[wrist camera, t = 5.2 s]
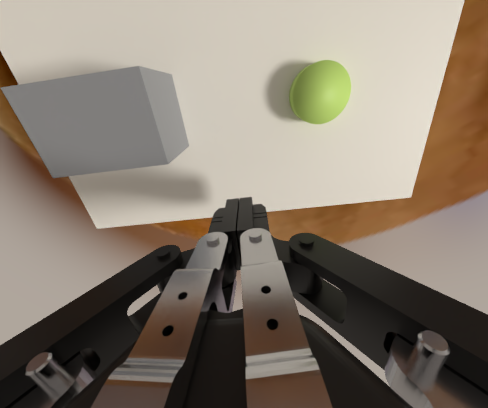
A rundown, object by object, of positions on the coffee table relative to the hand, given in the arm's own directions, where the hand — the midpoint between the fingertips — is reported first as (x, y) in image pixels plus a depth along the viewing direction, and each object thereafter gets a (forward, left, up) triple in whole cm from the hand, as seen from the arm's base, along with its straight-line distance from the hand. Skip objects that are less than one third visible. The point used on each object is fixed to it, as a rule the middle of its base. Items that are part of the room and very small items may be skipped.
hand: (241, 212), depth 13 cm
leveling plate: (-6, 0, -5) cm, 7 cm away
